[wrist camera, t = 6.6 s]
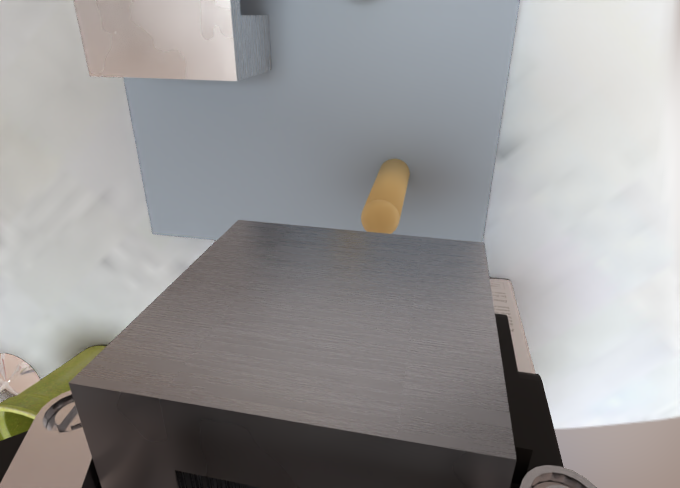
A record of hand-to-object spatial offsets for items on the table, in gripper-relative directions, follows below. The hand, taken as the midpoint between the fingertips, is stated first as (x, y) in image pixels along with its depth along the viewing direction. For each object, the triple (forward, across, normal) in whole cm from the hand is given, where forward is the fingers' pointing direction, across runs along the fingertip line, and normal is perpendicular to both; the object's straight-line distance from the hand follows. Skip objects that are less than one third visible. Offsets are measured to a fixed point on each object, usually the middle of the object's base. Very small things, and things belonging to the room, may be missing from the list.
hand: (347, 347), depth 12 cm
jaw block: (+1, 0, 0) cm, 1 cm away
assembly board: (+16, +5, -4) cm, 17 cm away
